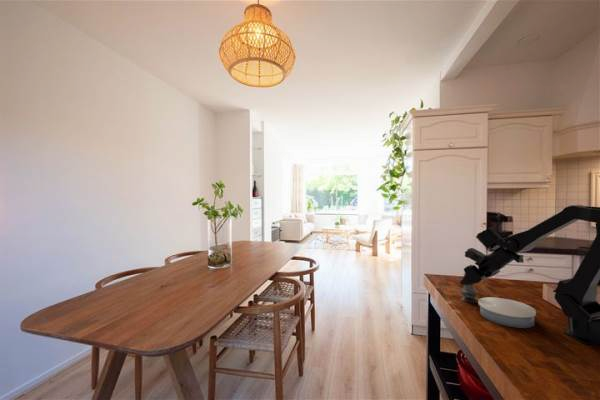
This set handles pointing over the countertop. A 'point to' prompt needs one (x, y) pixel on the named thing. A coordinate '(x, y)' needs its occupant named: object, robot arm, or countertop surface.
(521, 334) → the countertop surface
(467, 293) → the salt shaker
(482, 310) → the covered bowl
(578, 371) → the countertop surface
